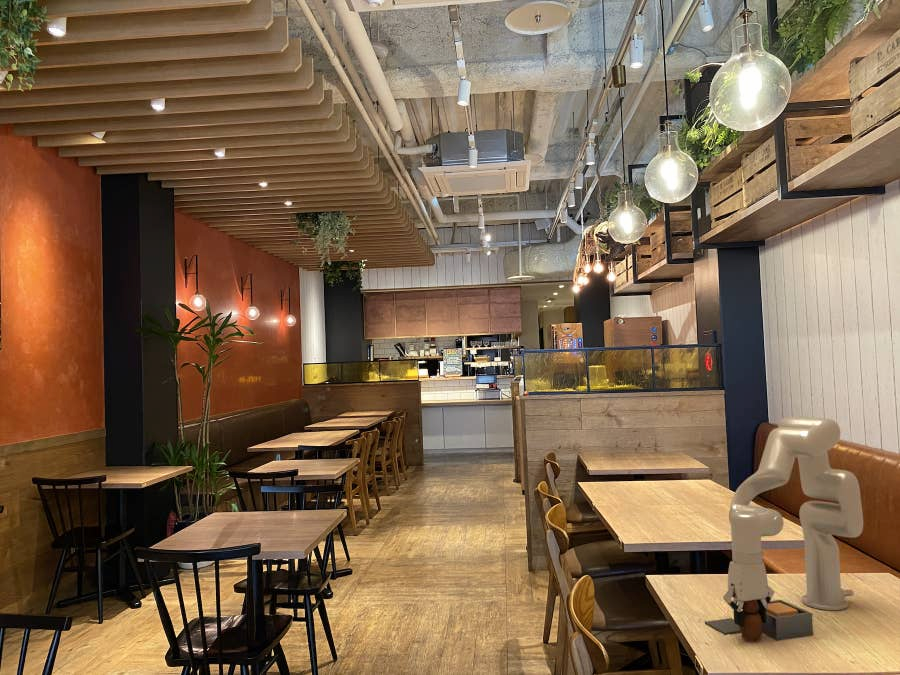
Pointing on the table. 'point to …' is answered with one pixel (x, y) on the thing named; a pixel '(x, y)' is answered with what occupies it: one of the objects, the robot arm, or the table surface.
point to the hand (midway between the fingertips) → (750, 622)
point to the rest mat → (724, 626)
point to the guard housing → (788, 624)
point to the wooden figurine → (751, 621)
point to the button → (780, 609)
